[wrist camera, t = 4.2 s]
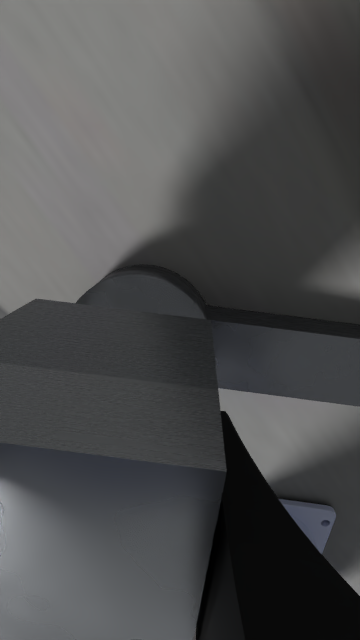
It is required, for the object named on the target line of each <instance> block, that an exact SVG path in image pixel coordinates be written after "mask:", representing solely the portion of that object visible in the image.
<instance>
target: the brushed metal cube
mask: <svg viewBox="0 0 360 640" xmlns="http://www.w3.org/2000/svg"><path fill="white" fill-rule="evenodd" d="M226 473H227V470H226V460H225V451H224V441H223V431H222V421H221V412H220V402H219V392H218V382H217V373H216V363H215V353H214V344H213V334H212V324H211V320H208V319H200V318H191V317H183V316H175V315H167V314H158V313H150V312H142V311H134V310H125V309H117V308H109V307H101V306H92V305H84V304H76V303H67V302H59V301H51V300H43V299H35V300H33V301H31V302H29V303H28V304H26V305H24V306H22V307H20V308H19V309H17V310H15V311H13V312H12V313H10V314H8V315H6V316H5V317H3V318H1V319H0V640H193V638H194V633H195V628H196V623H197V618H198V613H199V608H200V603H201V598H202V593H203V588H204V583H205V578H206V573H207V568H208V563H209V558H210V553H211V548H212V543H213V538H214V533H215V528H216V523H217V518H218V513H219V508H220V503H221V498H222V493H223V488H224V483H225V478H226Z"/></svg>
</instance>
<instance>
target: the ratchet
mask: <svg viewBox="0 0 360 640" xmlns="http://www.w3.org/2000/svg"><path fill="white" fill-rule="evenodd" d="M76 304H84V305H92V306H101V307H109V308H117V309H125V310H134V311H142V312H150V313H158V314H167V315H175V316H183V317H191V318H200V319H208V320H211V324H212V334H213V344H214V353H215V363H216V373H217V382H218V388H223V389H230V390H238V391H246V392H253V393H261V394H268V395H276V396H284V397H291V398H299V399H307V400H314V401H322V402H329V403H337V404H345V405H352V406H360V325H356V324H348V323H340V322H332V321H324V320H317V319H309V318H301V317H293V316H285V315H277V314H269V313H261V312H253V311H245V310H238V309H230V308H222V307H214V306H206V304H205V302H204V300H203V298H202V297H201V295H200V294H199V292H198V291H197V290H196V289H195V288H194V287H193V285H192V284H190V283H189V282H188V281H187V280H186V279H185V278H183V277H181V276H180V275H178V274H177V273H175V272H173V271H170V270H168V269H165V268H162V267H158V266H153V265H134V266H129V267H125V268H122V269H119V270H116V271H115V272H113V273H111V274H109V275H108V276H106V277H105V278H103V279H102V280H101V281H100V282H98V283H97V284H96V285H94V286H93V287H92V288H91V289H89V290H88V291H87V292H86V293H85V294H84V295H83V296H81V297H80V298H79V300H78V301H77V302H76Z"/></svg>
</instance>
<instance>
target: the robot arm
mask: <svg viewBox="0 0 360 640" xmlns="http://www.w3.org/2000/svg"><path fill="white" fill-rule="evenodd" d="M220 412H221V421H222V431H223V441H224V451H225V460H226V470H227V473H226V478H225V483H224V488H223V493H222V498H221V503H220V508H219V513H218V518H217V523H216V528H215V533H214V538H213V543H212V548H211V553H210V558H209V563H208V568H207V573H206V578H205V583H204V588H203V593H202V598H201V603H200V608H199V613H198V618H197V623H196V640H360V596H359V595H358V594H357V593H356V592H355V591H354V590H353V588H352V587H351V586H350V585H349V584H348V583H347V582H346V581H345V580H344V579H343V578H342V577H341V576H340V575H339V573H338V572H337V571H336V570H335V569H334V568H333V567H332V566H331V565H330V563H329V562H328V561H327V560H326V559H325V558H324V556H323V555H322V553H323V550H324V548H325V545H326V542H327V540H328V537H329V535H330V532H331V529H332V527H333V524H334V522H335V519H336V513H335V511H334V509H333V508H332V507H331V506H328V505H321V504H313V503H306V502H299V501H291V500H284V499H278V497H277V496H276V495H275V493H274V492H273V490H272V489H271V487H270V486H269V484H268V483H267V481H266V480H265V478H264V477H263V475H262V474H261V472H260V471H259V469H258V467H257V466H256V464H255V463H254V461H253V459H252V458H251V456H250V454H249V453H248V451H247V449H246V448H245V446H244V444H243V442H242V441H241V439H240V437H239V435H238V433H237V431H236V430H235V428H234V426H233V424H232V422H231V420H230V418H229V416H228V414H227V413H226V412H225V411H220Z"/></svg>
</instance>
